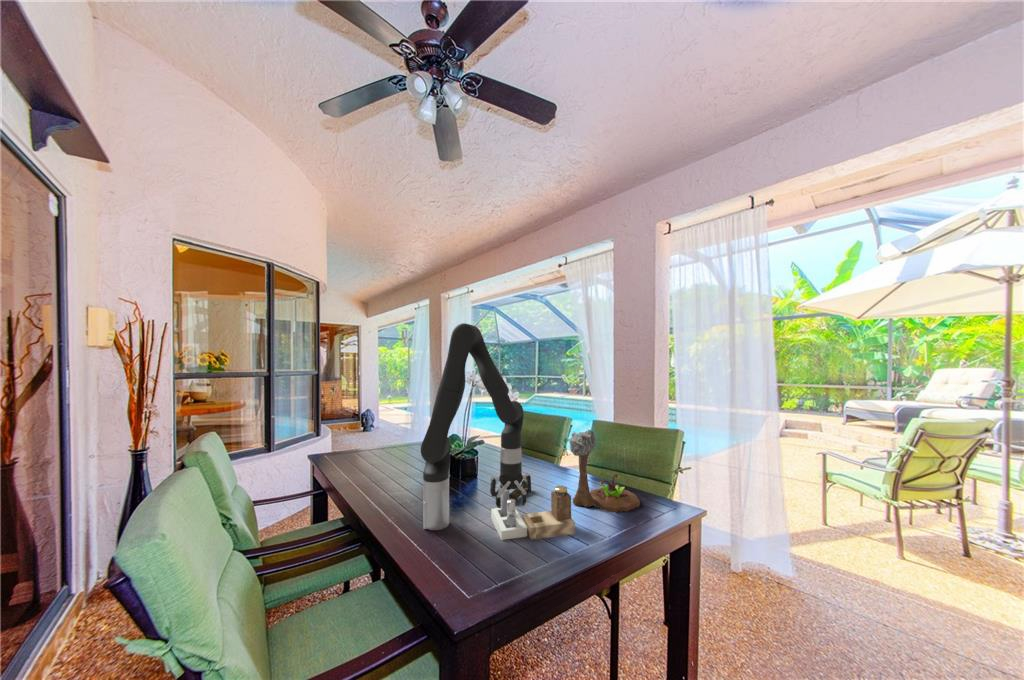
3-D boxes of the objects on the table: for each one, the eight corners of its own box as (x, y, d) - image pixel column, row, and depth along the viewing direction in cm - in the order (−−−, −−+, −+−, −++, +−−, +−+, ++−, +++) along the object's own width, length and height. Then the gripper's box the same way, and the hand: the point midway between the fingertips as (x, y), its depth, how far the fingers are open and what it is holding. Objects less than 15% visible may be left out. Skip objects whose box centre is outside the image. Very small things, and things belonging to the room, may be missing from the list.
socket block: (530, 543, 122) (530, 504, 122) (522, 528, 132) (522, 492, 132) (574, 536, 126) (574, 498, 126) (563, 522, 136) (563, 487, 136)
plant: (649, 506, 149) (648, 479, 149) (611, 516, 141) (610, 487, 141) (615, 488, 167) (615, 464, 167) (580, 496, 159) (580, 471, 159)
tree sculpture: (594, 513, 142) (593, 437, 142) (568, 510, 145) (567, 435, 146) (597, 498, 156) (597, 428, 156) (574, 495, 160) (573, 426, 160)
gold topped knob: (557, 511, 127) (557, 491, 127) (553, 505, 132) (552, 486, 132) (569, 509, 129) (569, 489, 129) (564, 504, 133) (564, 485, 133)
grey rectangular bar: (506, 533, 128) (506, 499, 128) (514, 532, 129) (514, 498, 129) (508, 538, 125) (508, 503, 125) (516, 536, 126) (516, 502, 126)
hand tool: (515, 504, 150) (515, 492, 150) (506, 502, 152) (506, 491, 152) (534, 488, 167) (534, 478, 167) (526, 486, 169) (526, 476, 169)
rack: (501, 543, 122) (501, 507, 122) (491, 519, 138) (491, 487, 138) (527, 539, 124) (526, 504, 124) (514, 516, 141) (514, 485, 141)
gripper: (527, 454, 132) (527, 499, 132) (488, 457, 129) (488, 503, 129) (533, 461, 125) (533, 508, 125) (493, 464, 122) (493, 513, 121)
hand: (510, 505), depth 127 cm, fingers open, 8 cm apart
